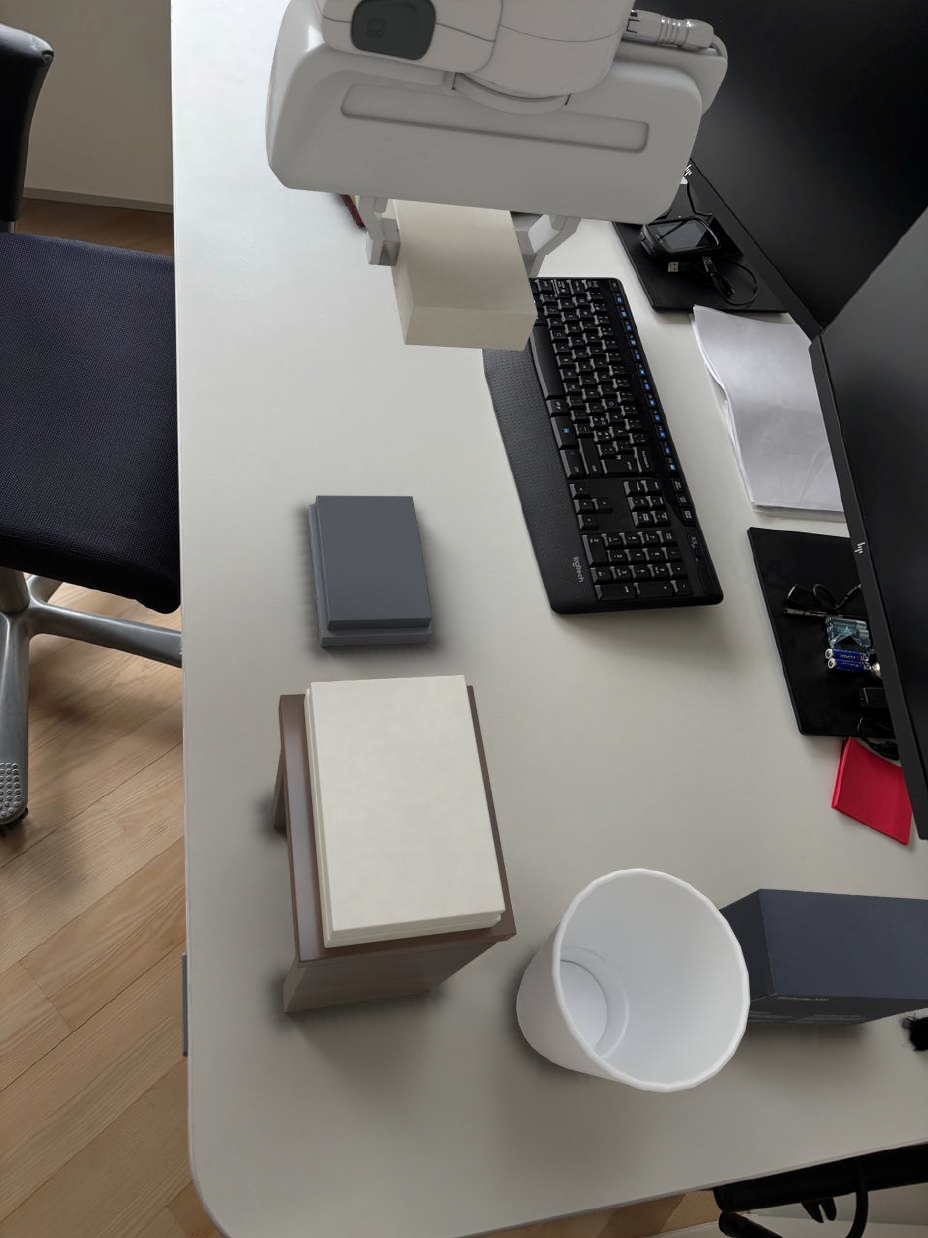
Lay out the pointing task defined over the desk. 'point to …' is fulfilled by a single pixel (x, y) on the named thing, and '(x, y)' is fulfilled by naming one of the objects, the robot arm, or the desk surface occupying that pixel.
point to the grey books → (368, 571)
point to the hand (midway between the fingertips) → (451, 263)
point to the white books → (399, 810)
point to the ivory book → (460, 277)
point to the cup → (638, 984)
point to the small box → (831, 955)
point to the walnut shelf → (315, 967)
